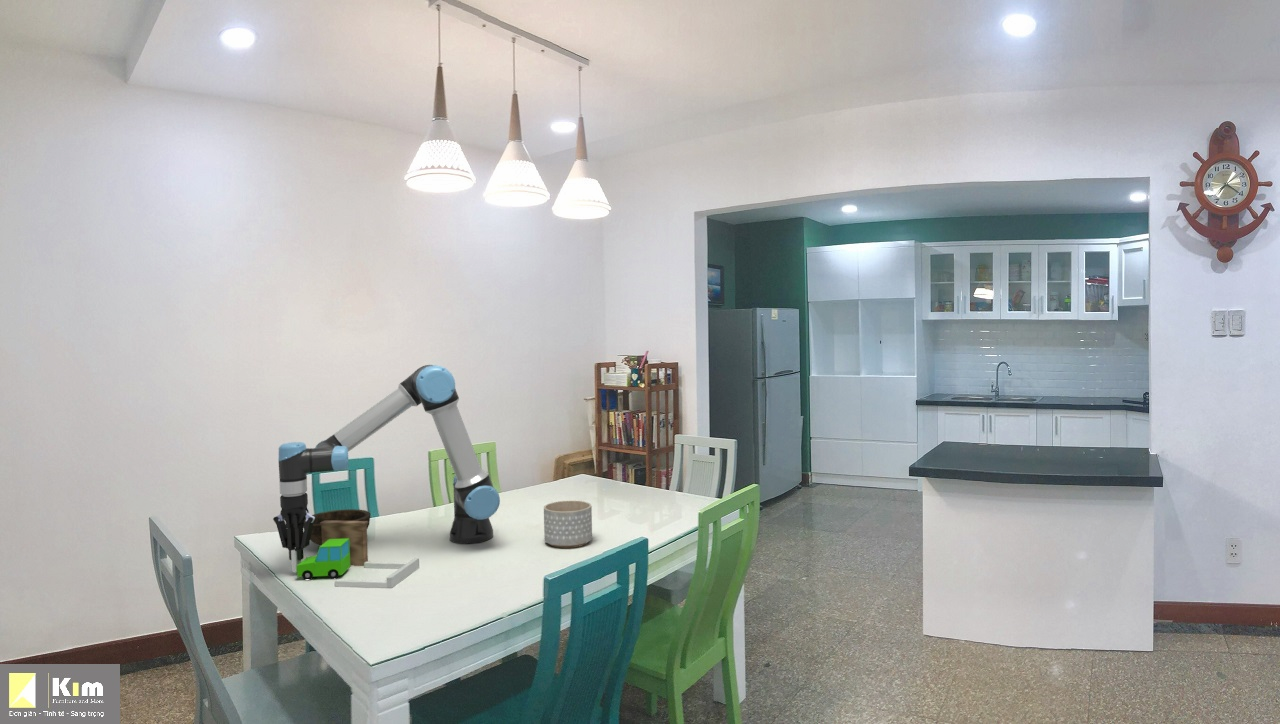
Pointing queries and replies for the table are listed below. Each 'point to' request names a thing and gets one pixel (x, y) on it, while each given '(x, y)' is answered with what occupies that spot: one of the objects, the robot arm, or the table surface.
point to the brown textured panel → (348, 530)
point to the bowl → (336, 516)
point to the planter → (567, 523)
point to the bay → (392, 580)
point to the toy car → (327, 560)
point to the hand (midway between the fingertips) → (296, 570)
